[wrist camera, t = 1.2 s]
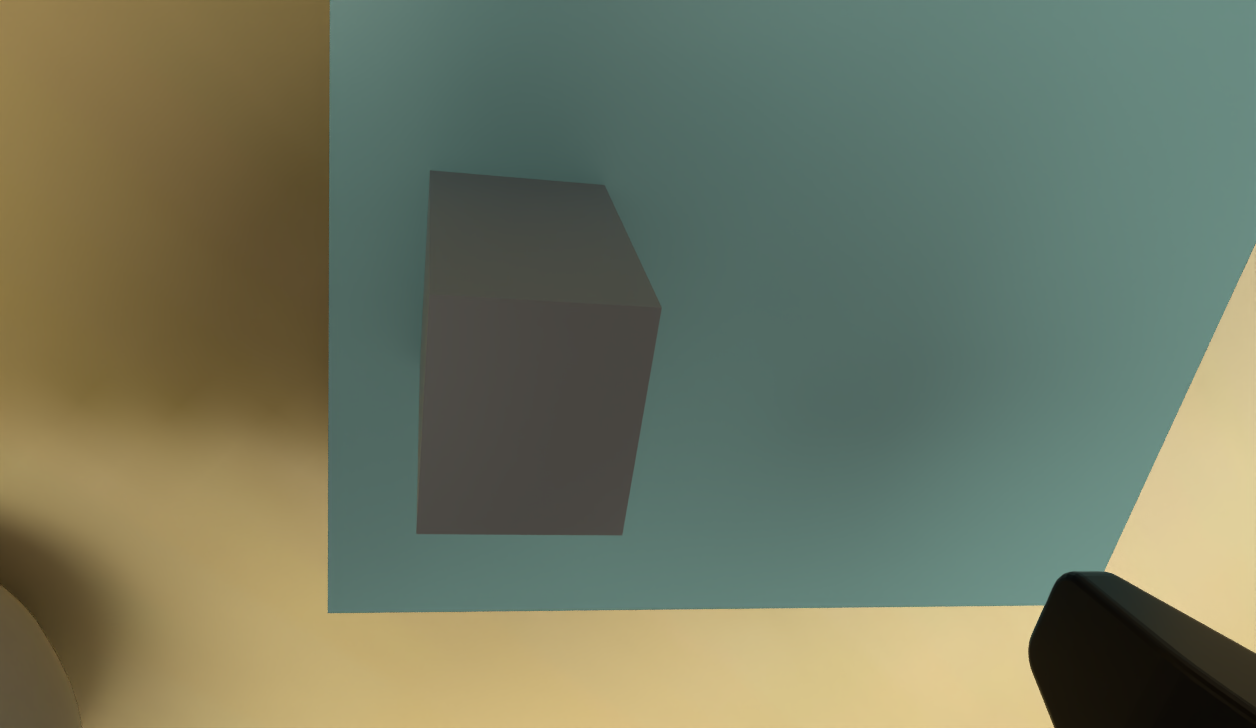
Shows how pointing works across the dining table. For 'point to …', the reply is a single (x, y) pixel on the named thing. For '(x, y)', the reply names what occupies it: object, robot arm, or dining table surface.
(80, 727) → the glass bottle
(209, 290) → the dining table surface
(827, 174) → the lid
